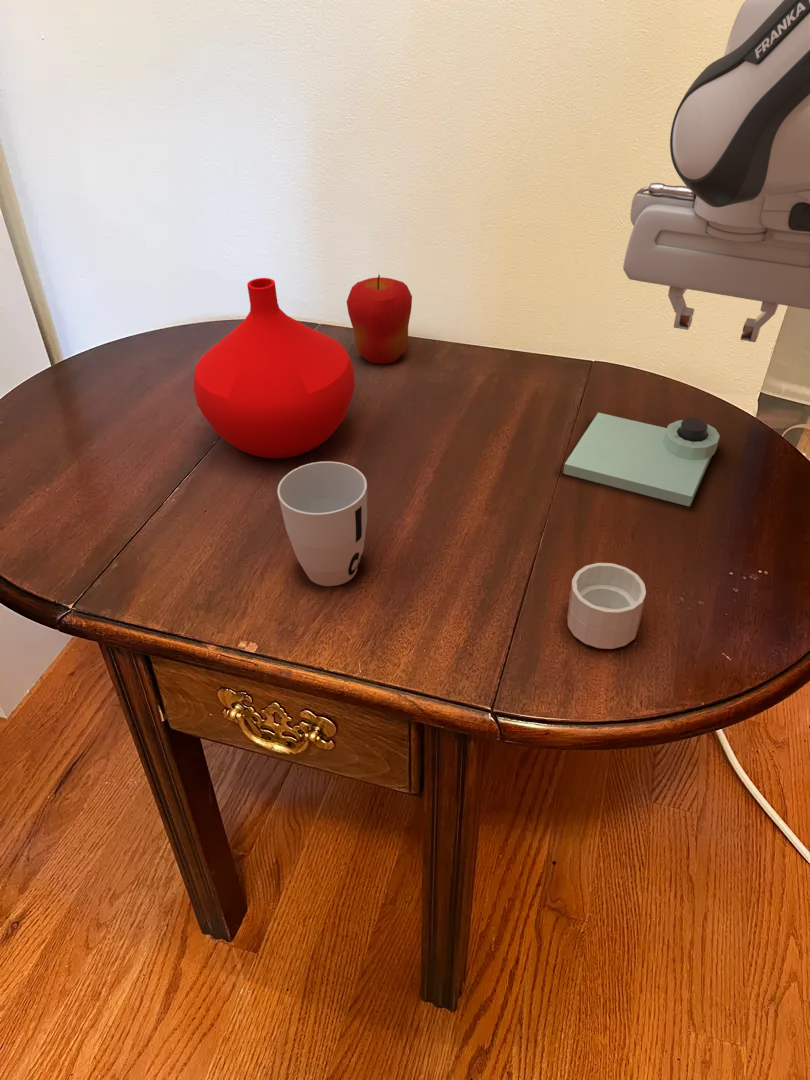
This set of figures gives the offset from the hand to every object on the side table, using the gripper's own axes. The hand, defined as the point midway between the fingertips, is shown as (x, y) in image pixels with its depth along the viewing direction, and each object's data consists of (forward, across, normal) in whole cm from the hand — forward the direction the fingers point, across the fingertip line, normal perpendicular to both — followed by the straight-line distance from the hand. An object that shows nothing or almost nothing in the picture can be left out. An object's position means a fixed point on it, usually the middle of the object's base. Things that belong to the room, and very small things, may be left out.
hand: (715, 332), depth 86 cm
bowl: (+15, 0, -31) cm, 34 cm away
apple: (+15, -44, +6) cm, 47 cm away
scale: (+15, -4, -4) cm, 16 cm away
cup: (+15, -26, -34) cm, 46 cm away
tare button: (+13, 0, 0) cm, 13 cm away
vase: (+15, -44, -16) cm, 50 cm away
